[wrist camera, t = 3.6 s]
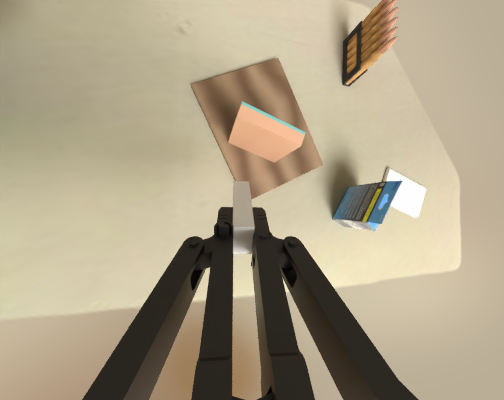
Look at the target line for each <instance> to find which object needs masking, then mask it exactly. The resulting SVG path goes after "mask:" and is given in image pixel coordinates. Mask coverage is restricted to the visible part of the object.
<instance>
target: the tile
mask: <svg viewBox="0 0 504 400" xmlns="http://www.w3.org/2000/svg"><path fill="white" fill-rule="evenodd" d="M305 133H306V132H304V131H302V130H300V129H298V128H296V127H294V126H292V125H290V124H288V123H286V122H284V121H281V120H279V119H277V118H275V117H273V116H271V115H269V114H267V113H265V112H263V111H261V110H259V109H257V108H255V107H253V106H251V105H249V104H247V103H245V102H243V101H242V104H241V106H240V109H239V112H238V114H237V117H236V120H235V123H234V126H233V129H232V132H231V135H230V138H229V141H228V143H230V144H232V145H234V146H237V147H239V148H241V149H244V150H246V151H248V152H251V153H253V154H255V155H258V156H260V157H262V158H265V159H267V160H269V161H272V162H274V163H275V162H276V161H278V160H280V159H281V158H283V157H284V156H286V155H288V154H289V153H291V152H293V151H294V150H296V149H297V148H299V147H301V145H302V142H303V139H304V136H305Z"/></svg>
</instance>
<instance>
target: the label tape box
mask: <svg viewBox="0 0 504 400" xmlns="http://www.w3.org/2000/svg"><path fill="white" fill-rule="evenodd" d="M402 182H403V181H385V182H379V183H372V184H365V185H358V186H351V187H349V188H348V190H347V192H346V194H345V195H344V197H343V199H342V201H341V203H340V205H339V207H338V209H337V211H336V213H335V215H334V217H333V220H335V221H336V222H338V223H340V224H341V225H343V226H345V227H350V228H358V229H365V230H372V231H375V230H376V228H377V226H378V224H382V223H383V220H384V218H385V216H386V214H387V211H388V209H389V207H390V205H391V203H392V201H393V200H394V198H395V195H396V193H397V191H398V189H399V187H400V185H401V184H402Z"/></svg>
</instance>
